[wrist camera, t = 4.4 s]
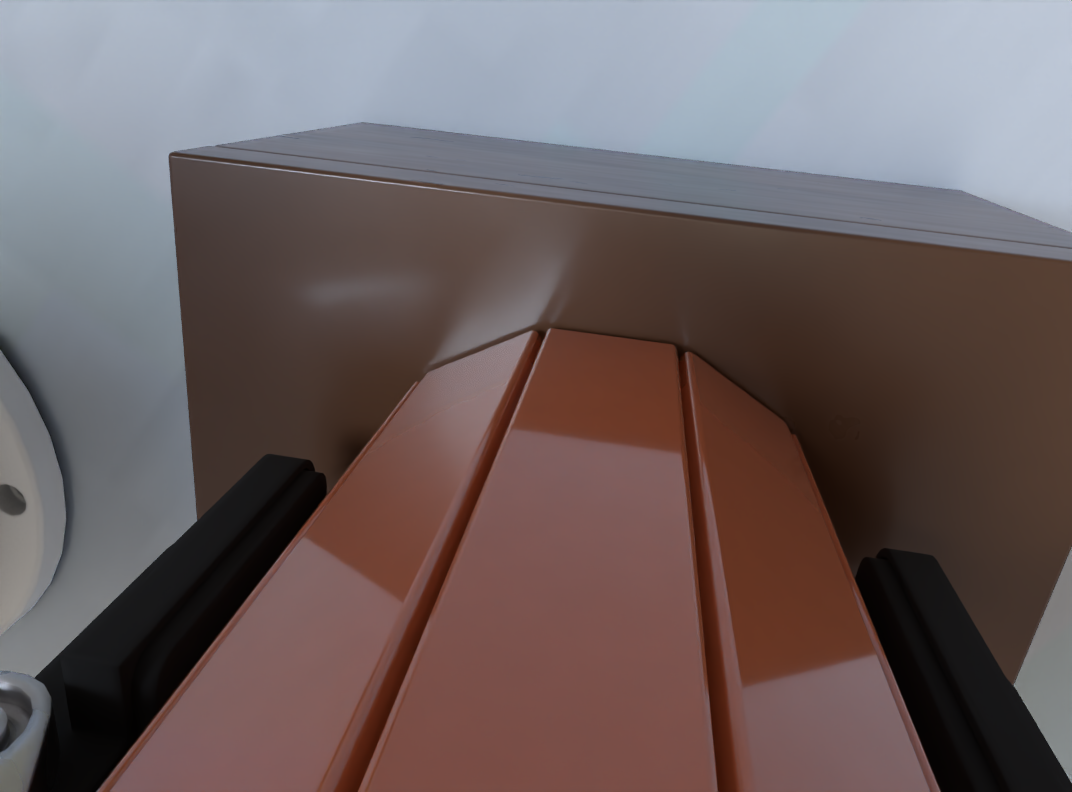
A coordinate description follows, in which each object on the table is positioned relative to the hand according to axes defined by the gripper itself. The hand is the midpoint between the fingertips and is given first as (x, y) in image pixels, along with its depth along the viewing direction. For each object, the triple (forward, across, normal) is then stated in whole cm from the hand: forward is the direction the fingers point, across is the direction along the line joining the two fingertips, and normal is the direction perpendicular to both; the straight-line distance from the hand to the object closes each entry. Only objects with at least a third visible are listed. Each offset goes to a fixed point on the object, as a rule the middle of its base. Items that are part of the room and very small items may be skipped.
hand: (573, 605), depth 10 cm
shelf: (+8, 0, 0) cm, 8 cm away
